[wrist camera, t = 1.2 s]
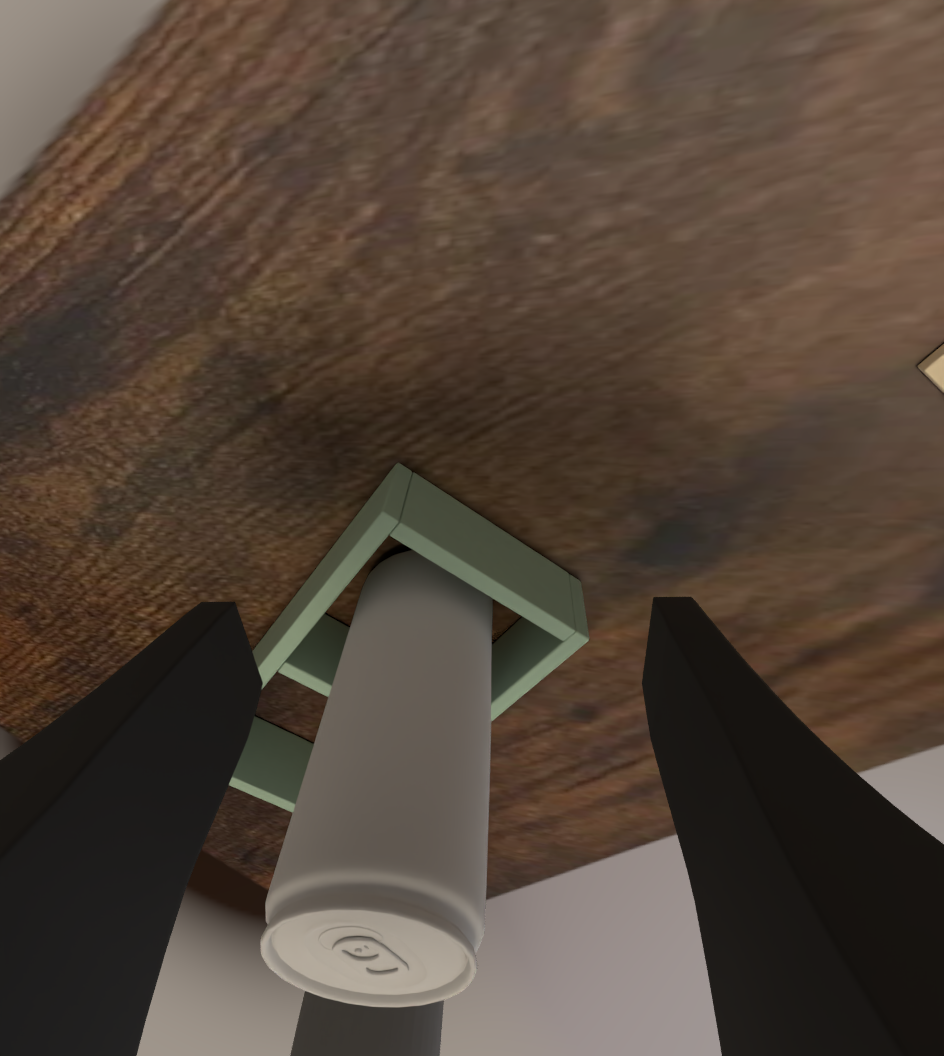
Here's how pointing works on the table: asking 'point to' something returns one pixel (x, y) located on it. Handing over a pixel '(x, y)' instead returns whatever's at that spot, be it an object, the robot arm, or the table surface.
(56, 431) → the table surface
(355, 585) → the table surface
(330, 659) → the divided storage tray
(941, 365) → the mat
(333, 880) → the beverage can
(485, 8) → the table surface
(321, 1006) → the bottle
